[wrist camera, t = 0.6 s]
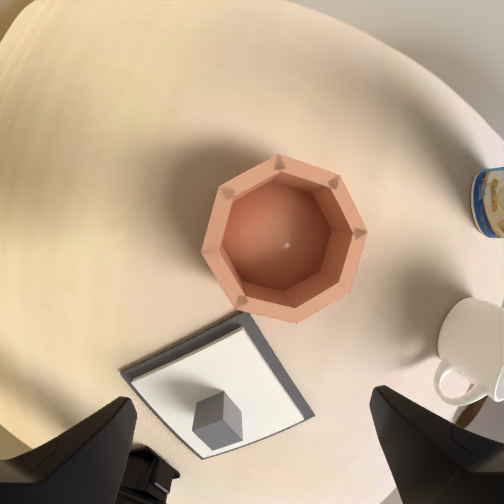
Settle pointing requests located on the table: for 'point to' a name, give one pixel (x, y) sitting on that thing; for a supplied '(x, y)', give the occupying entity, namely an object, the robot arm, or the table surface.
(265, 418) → the lid
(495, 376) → the mug
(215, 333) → the mat
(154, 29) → the table surface
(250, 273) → the bowl
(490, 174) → the beverage bottle
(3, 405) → the table surface
